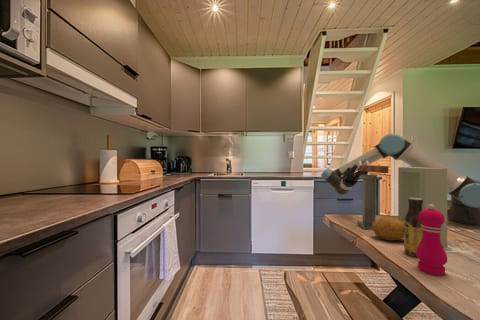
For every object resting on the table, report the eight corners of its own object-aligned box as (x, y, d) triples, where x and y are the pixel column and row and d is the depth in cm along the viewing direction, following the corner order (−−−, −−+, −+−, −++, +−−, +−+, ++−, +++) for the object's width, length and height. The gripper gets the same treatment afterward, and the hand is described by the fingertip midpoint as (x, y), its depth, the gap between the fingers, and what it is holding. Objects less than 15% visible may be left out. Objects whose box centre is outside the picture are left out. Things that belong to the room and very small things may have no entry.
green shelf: (398, 231, 105) (398, 167, 105) (416, 232, 105) (416, 167, 105) (425, 245, 88) (425, 168, 89) (447, 246, 88) (447, 168, 88)
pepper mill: (453, 277, 64) (454, 206, 64) (424, 275, 66) (424, 205, 66) (437, 266, 71) (437, 202, 71) (411, 264, 73) (411, 201, 73)
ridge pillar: (357, 224, 117) (357, 174, 117) (373, 225, 116) (373, 174, 116) (364, 229, 109) (364, 175, 109) (381, 229, 108) (381, 175, 108)
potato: (410, 247, 87) (410, 222, 87) (370, 239, 95) (370, 217, 95) (409, 240, 95) (410, 217, 95) (372, 233, 103) (373, 213, 103)
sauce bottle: (404, 249, 84) (405, 196, 85) (426, 254, 81) (426, 197, 81) (403, 255, 79) (403, 198, 79) (426, 260, 75) (426, 200, 76)
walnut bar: (353, 170, 127) (353, 164, 127) (359, 170, 127) (359, 164, 127) (381, 173, 99) (381, 166, 99) (388, 173, 99) (388, 166, 99)
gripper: (363, 187, 136) (382, 169, 115) (335, 187, 137) (349, 169, 117) (360, 176, 139) (378, 156, 119) (333, 176, 141) (346, 156, 120)
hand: (364, 162), depth 118 cm, fingers closed on walnut bar, 3 cm apart
